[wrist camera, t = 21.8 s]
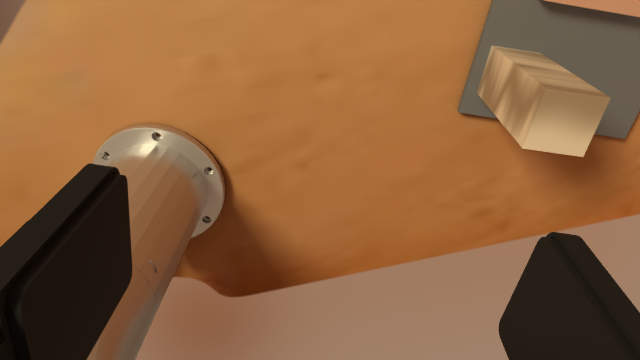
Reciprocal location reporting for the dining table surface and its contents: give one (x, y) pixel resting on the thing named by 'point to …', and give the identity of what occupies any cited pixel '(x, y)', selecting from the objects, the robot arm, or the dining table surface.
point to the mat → (567, 53)
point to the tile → (606, 5)
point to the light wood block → (541, 101)
